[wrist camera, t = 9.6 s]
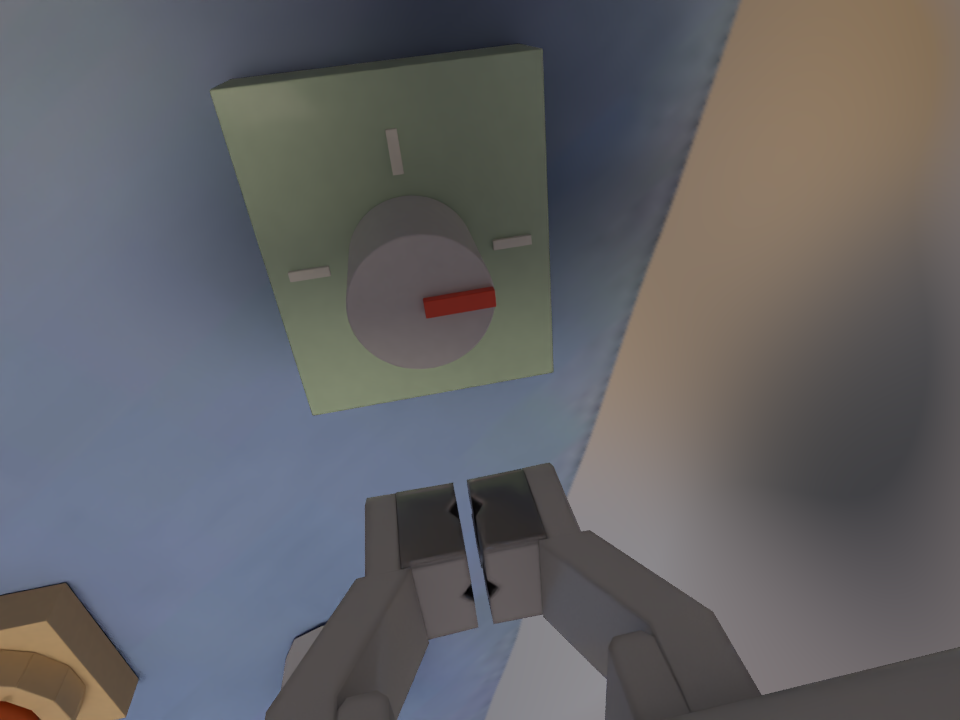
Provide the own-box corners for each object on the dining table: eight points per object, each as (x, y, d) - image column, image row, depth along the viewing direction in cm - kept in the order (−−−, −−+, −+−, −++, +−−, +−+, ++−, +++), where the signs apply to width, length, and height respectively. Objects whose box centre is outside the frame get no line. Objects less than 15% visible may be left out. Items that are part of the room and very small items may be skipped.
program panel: (229, 79, 19) (207, 90, 17) (520, 43, 20) (544, 48, 17) (317, 376, 26) (312, 418, 23) (535, 338, 27) (554, 374, 24)
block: (-104, 616, 28) (-167, 697, 25) (66, 582, 29) (27, 657, 26) (-5, 710, 33) (-46, 789, 30) (139, 678, 34) (114, 752, 31)
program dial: (363, 322, 21) (363, 386, 18) (335, 205, 19) (328, 252, 15) (480, 302, 22) (503, 361, 18) (466, 185, 19) (490, 226, 16)
